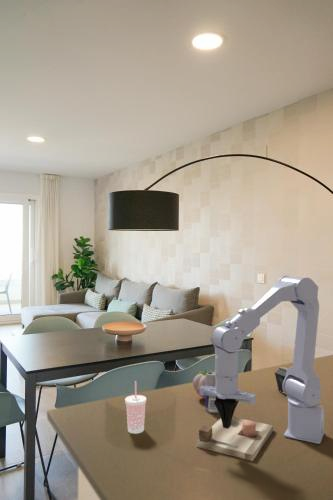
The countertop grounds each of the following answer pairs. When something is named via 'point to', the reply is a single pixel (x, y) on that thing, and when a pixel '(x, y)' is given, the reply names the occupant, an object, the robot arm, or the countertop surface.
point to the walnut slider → (205, 433)
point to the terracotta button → (249, 429)
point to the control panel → (236, 439)
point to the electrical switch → (280, 377)
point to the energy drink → (210, 400)
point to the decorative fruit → (199, 382)
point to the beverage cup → (135, 412)
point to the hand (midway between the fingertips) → (226, 426)
